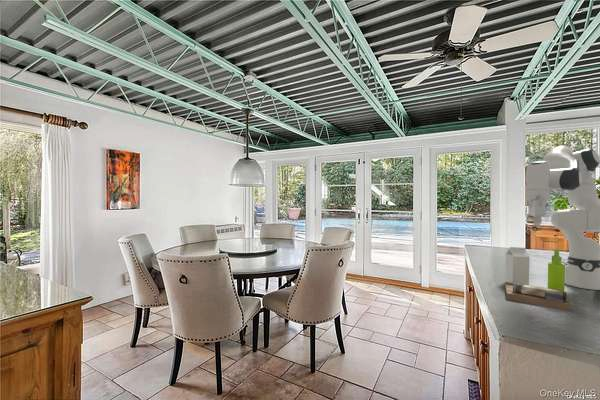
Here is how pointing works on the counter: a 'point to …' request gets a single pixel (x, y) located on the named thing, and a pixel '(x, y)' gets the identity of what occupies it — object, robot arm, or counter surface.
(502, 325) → the counter surface
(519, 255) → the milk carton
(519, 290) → the folding leg
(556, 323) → the counter surface
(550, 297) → the wooden tray
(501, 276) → the counter surface
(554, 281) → the soap dispenser
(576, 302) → the counter surface
